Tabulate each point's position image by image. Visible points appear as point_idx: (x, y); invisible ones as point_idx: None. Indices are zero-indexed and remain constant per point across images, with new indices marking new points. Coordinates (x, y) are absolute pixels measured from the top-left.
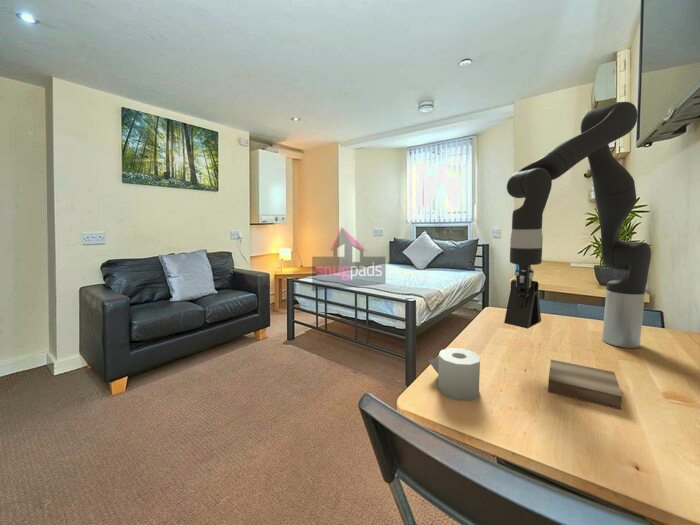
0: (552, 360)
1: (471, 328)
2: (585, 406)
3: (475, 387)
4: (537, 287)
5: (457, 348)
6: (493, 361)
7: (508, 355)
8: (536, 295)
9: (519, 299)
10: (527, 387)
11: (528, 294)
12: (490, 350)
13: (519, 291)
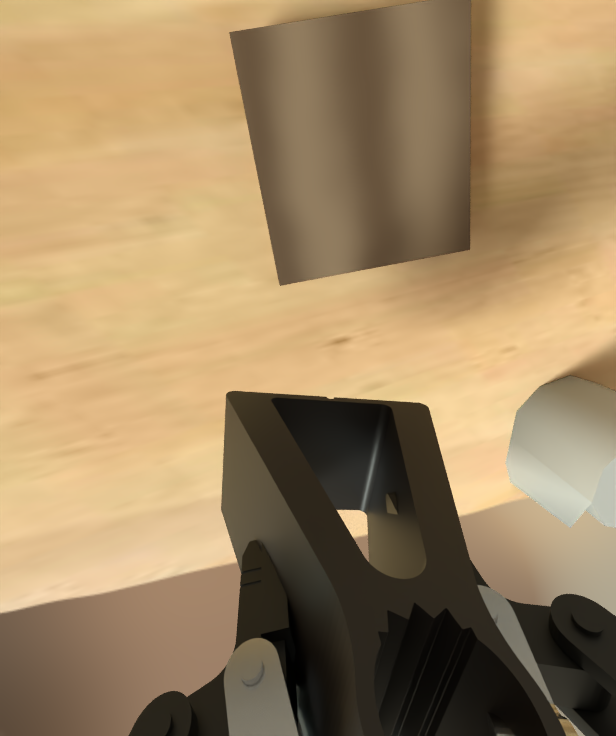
0: (286, 278)
1: (99, 589)
2: (479, 136)
3: (607, 389)
4: (368, 688)
5: (596, 509)
6: None
7: None
8: (364, 561)
9: None
10: (453, 302)
11: (495, 613)
12: None
13: (610, 699)
